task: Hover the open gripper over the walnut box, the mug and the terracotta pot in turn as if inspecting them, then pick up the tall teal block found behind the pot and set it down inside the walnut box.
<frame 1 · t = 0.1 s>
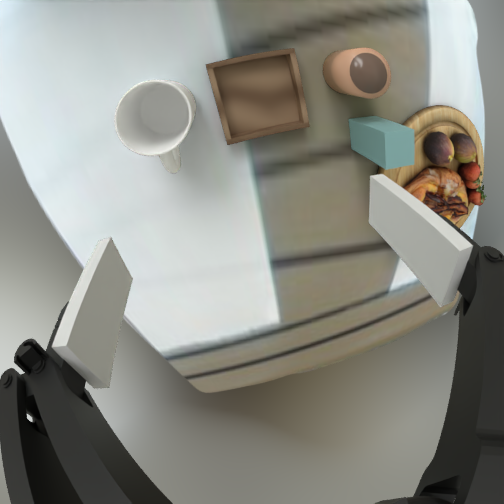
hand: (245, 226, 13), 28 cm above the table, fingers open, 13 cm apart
teal block: (363, 132, 38), on the table
walnut box: (257, 93, 33), on the table
mug: (169, 121, 34), on the table
wooden plate with food: (433, 181, 46), on the table
terracotta pot: (344, 72, 32), on the table
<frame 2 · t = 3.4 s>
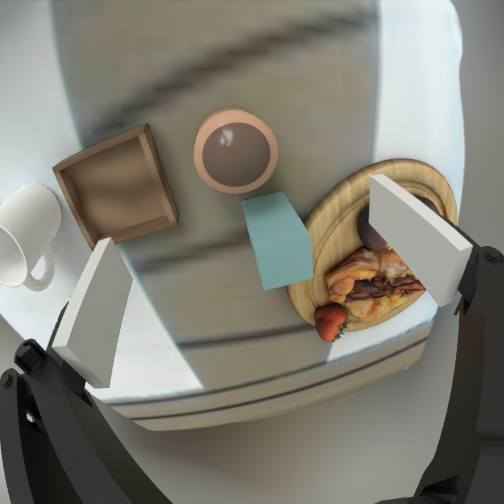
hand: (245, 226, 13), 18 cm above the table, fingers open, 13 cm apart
teal block: (265, 214, 33), on the table
walnut box: (118, 186, 28), on the table
mug: (44, 221, 29), on the table
wooden plate with food: (379, 253, 41), on the table
terracotta pot: (230, 138, 28), on the table
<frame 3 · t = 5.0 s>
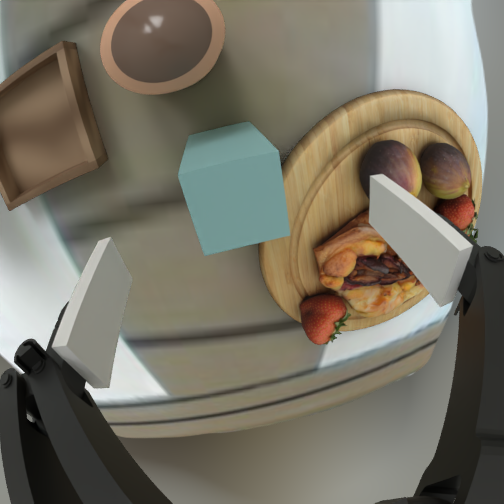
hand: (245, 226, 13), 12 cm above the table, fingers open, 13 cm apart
teal block: (225, 155, 22), on the table
walnut box: (39, 126, 17), on the table
wooden plate with food: (388, 225, 30), on the table
terracotta pot: (174, 49, 16), on the table
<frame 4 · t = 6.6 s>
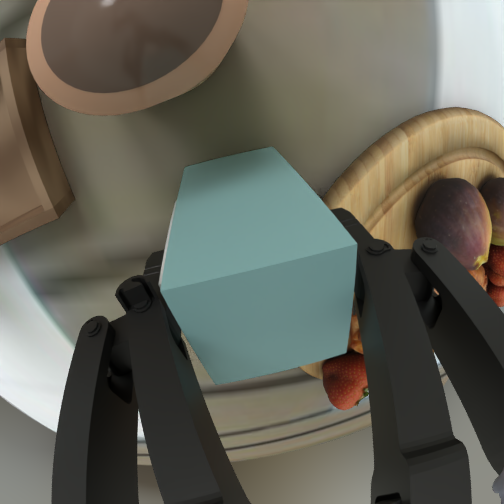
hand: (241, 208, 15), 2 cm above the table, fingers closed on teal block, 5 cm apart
teal block: (237, 195, 16), on the table, touching gripper
wooden plate with food: (427, 268, 24), on the table
terracotta pot: (161, 38, 10), on the table
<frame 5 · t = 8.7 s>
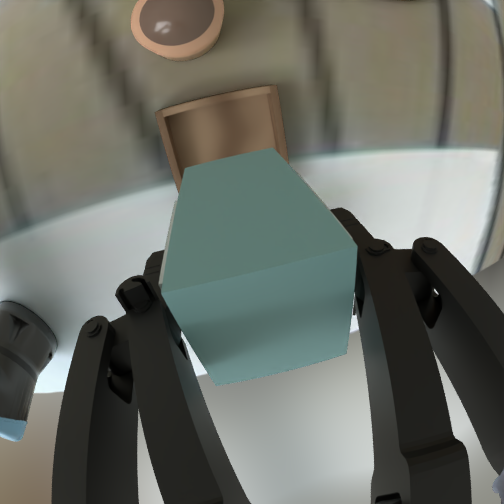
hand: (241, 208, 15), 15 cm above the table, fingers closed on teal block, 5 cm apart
teal block: (237, 196, 16), point 14 cm above the table, touching gripper
walnut box: (226, 146, 27), on the table
terracotta pot: (184, 29, 20), on the table
when the fingers open (3 cm above the table, at t = 11.3 s): teal block stays where it is, resting on walnut box.
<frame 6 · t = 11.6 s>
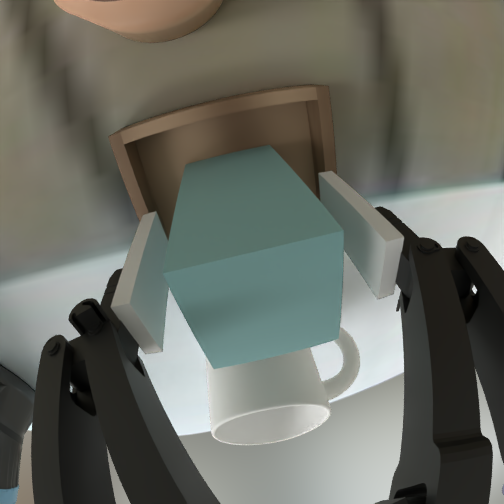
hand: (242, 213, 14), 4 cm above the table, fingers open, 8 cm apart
teal block: (236, 191, 17), resting on walnut box
walnut box: (235, 187, 17), on the table
mug: (270, 315, 25), on the table
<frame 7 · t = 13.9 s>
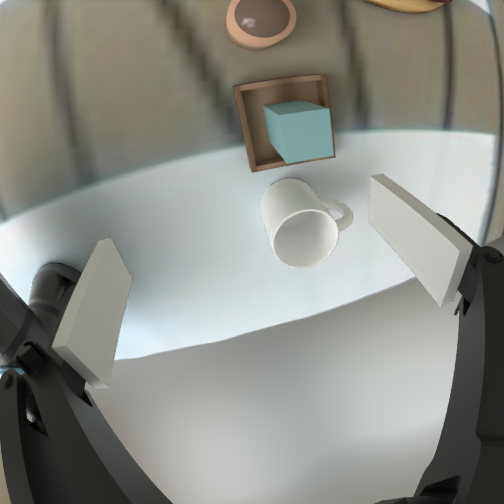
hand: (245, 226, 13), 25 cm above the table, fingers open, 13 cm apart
teal block: (284, 120, 33), resting on walnut box
walnut box: (284, 119, 33), on the table
mug: (299, 200, 41), on the table
terracotta pot: (253, 26, 26), on the table
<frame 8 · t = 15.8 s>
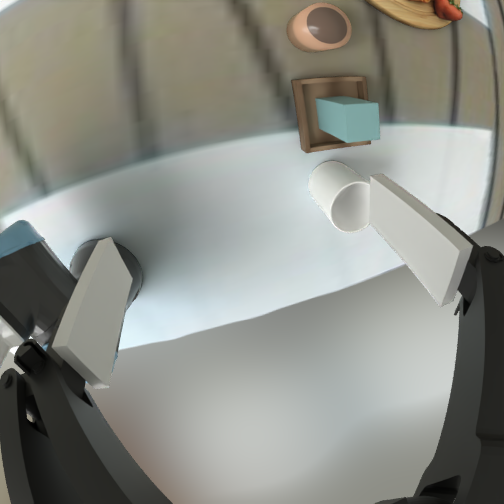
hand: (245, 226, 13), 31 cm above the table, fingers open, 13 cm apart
teal block: (331, 111, 38), resting on walnut box
walnut box: (330, 111, 39), on the table
mug: (338, 180, 46), on the table
terracotta pot: (309, 32, 31), on the table
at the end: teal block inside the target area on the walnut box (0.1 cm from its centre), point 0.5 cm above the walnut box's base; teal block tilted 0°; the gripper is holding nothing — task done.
